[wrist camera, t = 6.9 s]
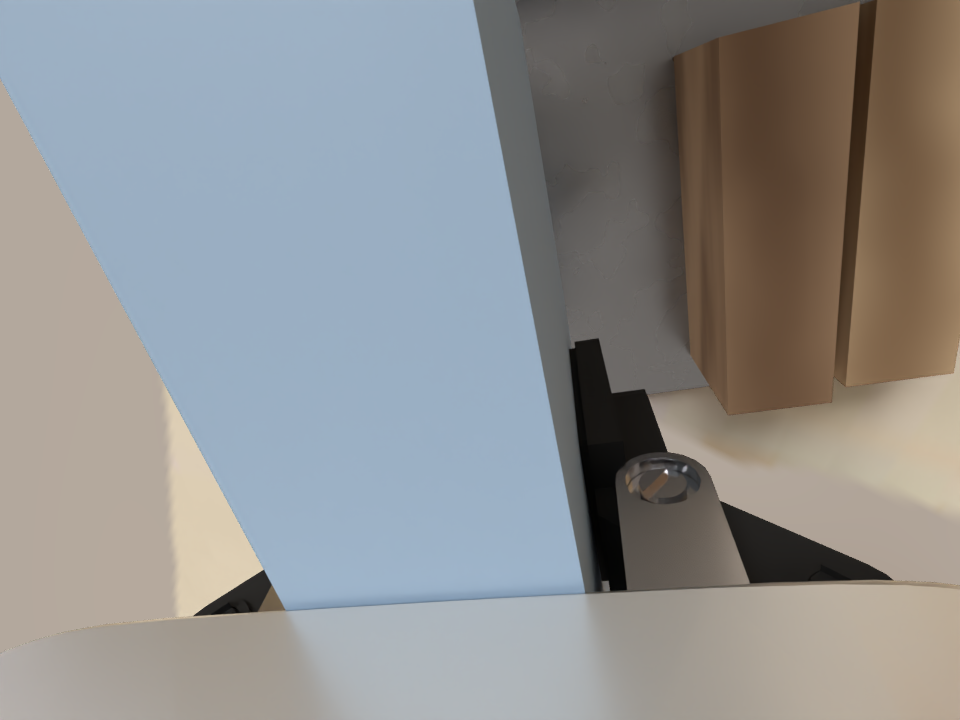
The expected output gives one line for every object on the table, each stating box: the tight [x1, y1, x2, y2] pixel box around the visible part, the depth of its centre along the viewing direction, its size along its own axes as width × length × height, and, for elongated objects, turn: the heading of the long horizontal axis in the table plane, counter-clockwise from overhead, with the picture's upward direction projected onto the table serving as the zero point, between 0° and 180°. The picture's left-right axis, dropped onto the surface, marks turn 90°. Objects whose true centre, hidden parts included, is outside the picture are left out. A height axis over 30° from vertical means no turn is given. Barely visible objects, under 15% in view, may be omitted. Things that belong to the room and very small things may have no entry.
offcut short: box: [834, 0, 960, 387], centre depth 21 cm, size 4×14×5 cm, turn 13°
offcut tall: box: [674, 2, 860, 415], centre depth 21 cm, size 4×14×6 cm, turn 13°
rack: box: [515, 0, 873, 394], centre depth 21 cm, size 25×21×9 cm
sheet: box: [0, 0, 610, 611], centre depth 10 cm, size 2×16×11 cm, turn 12°
